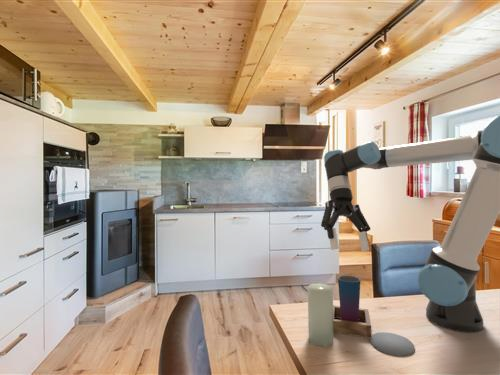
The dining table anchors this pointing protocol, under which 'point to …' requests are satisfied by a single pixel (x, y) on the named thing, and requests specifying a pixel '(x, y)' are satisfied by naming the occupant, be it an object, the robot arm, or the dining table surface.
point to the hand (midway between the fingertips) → (350, 250)
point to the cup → (349, 297)
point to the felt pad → (392, 344)
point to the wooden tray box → (352, 323)
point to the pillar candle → (320, 314)
